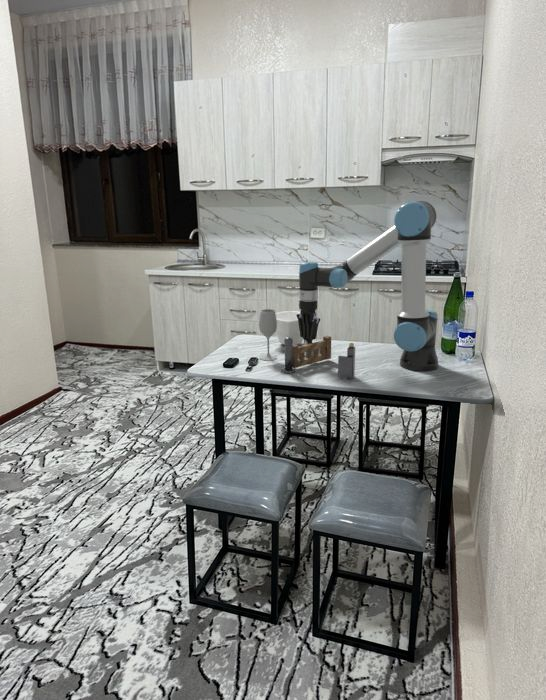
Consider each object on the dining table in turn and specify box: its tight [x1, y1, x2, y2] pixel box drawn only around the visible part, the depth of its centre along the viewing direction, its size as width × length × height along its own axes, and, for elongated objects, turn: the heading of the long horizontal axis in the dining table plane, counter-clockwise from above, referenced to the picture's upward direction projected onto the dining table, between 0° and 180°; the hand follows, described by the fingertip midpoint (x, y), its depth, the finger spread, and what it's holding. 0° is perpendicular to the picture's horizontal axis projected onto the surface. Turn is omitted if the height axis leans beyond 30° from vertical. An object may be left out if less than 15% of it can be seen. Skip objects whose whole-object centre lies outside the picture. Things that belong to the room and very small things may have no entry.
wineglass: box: [258, 308, 278, 362], centre depth 223 cm, size 8×8×21 cm
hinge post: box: [280, 337, 297, 375], centre depth 206 cm, size 6×6×14 cm
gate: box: [292, 335, 332, 369], centre depth 214 cm, size 20×2×10 cm, turn 129°
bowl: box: [275, 310, 304, 346], centre depth 244 cm, size 19×19×14 cm
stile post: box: [337, 342, 356, 380], centre depth 198 cm, size 5×5×14 cm
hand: (307, 354), depth 222 cm, fingers closed
